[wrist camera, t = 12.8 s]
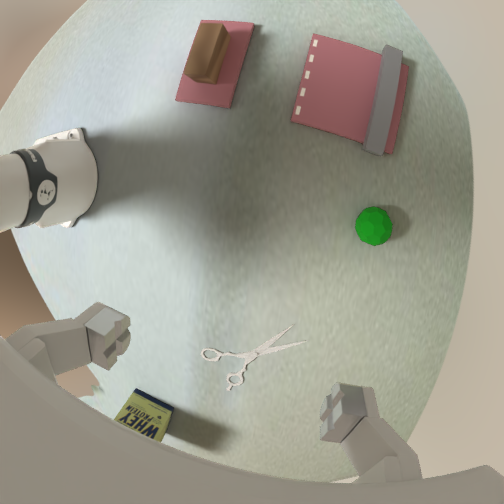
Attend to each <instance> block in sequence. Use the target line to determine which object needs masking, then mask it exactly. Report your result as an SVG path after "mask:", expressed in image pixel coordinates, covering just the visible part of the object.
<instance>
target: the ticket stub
mask: <svg viewBox="0 0 504 504" xmlns="http://www.w3.org/2000/svg"><path fill="white" fill-rule="evenodd" d="M253 29H254V23H248V22H236V21H218V20H201V22H200V25H199V27H198V30H197V33H196V36H195V38H194V41H193V44H192V47H191V50H190V53H189V56H188V59H187V62H186V65H185V68H184V71H183V74H182V78H181V81H180V84H179V88H178V91H177V95H176V99H175V100H176V101H178V102H187V103H196V104H204V105H211V106H218V107H224V108H230V107H231V103H232V99H233V96H234V92H235V88H236V85H237V81H238V78H239V75H240V71H241V68H242V64H243V61H244V58H245V55H246V51H247V48H248V45H249V42H250V39H251V36H252V33H253Z"/></svg>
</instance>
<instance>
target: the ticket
mask: <svg viewBox="0 0 504 504" xmlns="http://www.w3.org/2000/svg"><path fill="white" fill-rule="evenodd" d="M402 54H403V51H401V50H399V49H396V48H394V47H392V46H389V45H386V46H385V47H384V49H383V51H382V55H381V54H378V53H375V52H373V51H370V50H367V49H364V48H362V47H359V46H356V45H353V44H349V43H346V42H343V41H340V40H336V39H333V38H329V37H325V36H321V35H317V34H313V36H312V40H311V44H310V48H309V52H308V56H307V59H306V63H305V67H304V71H303V75H302V79H301V83H300V86H299V90H298V94H297V98H296V102H295V106H294V110H293V113H292V117H291V122H295V123H298V124H302V125H306V126H309V127H313V128H316V129H320V130H323V131H326V132H330V133H333V134H336V135H339V136H342V137H345V138H348V139H351V140H354V141H357V142H360V143H362V144H363V147H362V150H364V151H366V152H369V153H372V154H374V155H377V156H383V153H384V152H386V153H388V154H392V153H393V149H394V144H395V140H396V136H397V131H398V127H399V122H400V117H401V112H402V107H403V102H404V96H405V90H406V84H407V77H408V70H409V66H407V65H404V64H402V63H401V62H402Z"/></svg>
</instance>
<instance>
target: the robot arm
mask: <svg viewBox="0 0 504 504" xmlns="http://www.w3.org/2000/svg"><path fill="white" fill-rule="evenodd" d="M72 135H73V136H72ZM96 189H97V166H96V161H95V158H94V156H93V153H92V151H91V150H90V148H89V147H88V146H87V144H86V143H85V140H84V136H83V132H82V130H81V129H80V128H75V129H71V130H67V131H63V132H60V133H56V134H53V135H49V136H46V137H43V138H40V139H37V140H36V141H35V143H34V146H31V147H28V148H26V149H19V150H17V151H13V152H11V153H10V154H6V155H0V233H1V232H3V231H6V230H8V229H11V228H13V227H15V228H21V227H27V226H30V225H31V224H34V223H35V224H36V225H37V226H39V227H40V228H45V227H49V226H53V225H57V224H61V225H62V226H64V227H65V228H69V227H72V226H73V224H74V222H75V221H76V219H77V218H78V217H79V216H81V215H82V214H84V213H85V212H86V211H87V210H88V209H89V207H90V206H91V204H92V202H93V199H94V197H95V193H96ZM129 326H130V318H129V317H128V316H127V315H125V314H123V313H121V312H119V311H117V310H115V309H113V308H111V307H108V306H106V305H104V304H102V303H100V302H96V303H95V304H93V305H92V306H91V307H89V308H88V309H87V310H85V311H84V312H83V313H82V314H80V315H79V316H78V317H76V318H75V319H74V320H73V319H72V318H69V319H63V320H57V321H50V322H44V323H38V324H31V325H24V326H23V327H21V328H20V329H18V330H17V331H16V332H14V333H13V334H11V335H10V336H9V337H8V338H6V339H4V338H3V337H1V336H0V504H504V477H503V476H502V475H501V474H500V473H498V472H497V471H496V470H494V469H493V468H492V467H490V466H488V465H483V466H479V467H476V468H472V469H469V470H465V471H461V472H457V473H452V474H447V475H443V476H437V477H432V478H425V479H422V474H421V469H420V464H419V460H418V456H417V454H416V453H415V452H414V451H413V450H412V449H411V447H410V446H409V445H408V444H407V443H406V442H405V441H404V440H403V439H402V438H401V437H400V436H399V435H398V434H397V433H396V432H395V431H394V429H393V428H392V427H391V426H390V425H389V424H388V423H387V422H386V421H385V420H384V419H383V418H380V415H379V411H378V406H377V402H376V398H375V393H374V389H373V388H372V387H364V386H357V385H351V384H345V383H339V382H336V383H335V384H334V386H333V387H332V389H331V390H332V394H330V395H328V396H326V398H325V399H324V401H323V404H322V406H321V411H320V419H321V420H322V421H323V424H322V425H321V426H320V440H322V441H328V442H335V443H340V445H341V447H342V448H343V450H344V452H345V454H346V455H347V457H348V458H349V460H350V462H351V463H352V465H353V467H354V468H355V470H356V472H357V473H358V475H359V478H358V479H356V480H355V481H354V482H352V483H328V482H315V481H305V480H297V479H289V478H283V477H277V476H271V475H265V474H260V473H256V472H251V471H247V470H242V469H238V468H234V467H231V466H227V465H223V464H220V463H216V462H213V461H210V460H207V459H204V458H200V457H197V456H195V455H192V454H189V453H186V452H183V451H181V450H178V449H175V448H173V447H170V446H168V445H165V444H163V443H161V442H158V441H156V440H154V439H151V438H149V437H147V436H145V435H143V434H141V433H138V432H136V431H134V430H132V429H130V428H128V427H126V426H124V425H122V424H120V423H119V422H117V421H115V420H113V419H111V418H109V417H108V416H106V415H104V414H102V413H101V412H99V411H97V410H96V409H94V408H92V407H91V406H89V405H87V404H86V403H84V402H83V401H81V400H80V399H78V398H77V397H75V396H74V395H72V394H71V393H69V392H68V391H66V390H65V389H63V388H62V387H61V386H59V385H58V383H57V380H56V377H55V376H56V375H59V374H62V373H64V372H67V371H70V370H73V369H76V368H78V367H81V366H84V365H87V364H89V363H91V362H93V363H95V364H97V365H99V366H101V367H103V368H104V369H106V370H108V371H109V370H110V368H111V367H112V366H113V365H114V364H115V363H116V362H117V356H118V355H122V354H124V352H125V351H126V350H127V348H128V346H129V344H130V332H129V330H128V327H129Z"/></svg>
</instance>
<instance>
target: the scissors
mask: <svg viewBox="0 0 504 504" xmlns="http://www.w3.org/2000/svg"><path fill="white" fill-rule="evenodd" d="M293 325H294V324H293ZM293 325H292V326H293ZM292 326H290V327H289V328H287V329H285V330H284V331H282V332H281V333H279V334H278V335H276V336H274V337H273V338H271V339H270V340H268V341H266V342H265V343H263V344H262V345H260V346H259V347H257V348H256V349H254V350H253V351H248V352H243V353H237V354H235V353H231V352H226V353H222V352H220V351H218V350H216V349H213V348H205V349H203V350H202V351H201V356H202V357H203V358H204V359H206V360H208V361H218V360H219V358H220V356H225V355H231V356H236V357H240V358H246V360H245V363H244V366H243V369H242V370H241V371H239V372H237V373H231V372H230V373H229V374H228V375H227V382H228V383H229V384H230V385H229V387H228V388H227V389H226V390H227V391H230V388H231V387H232V385H233V386H237V385H240V384H242V382H243V376H242V372H244V371H246V365H247V364H248V363H250V362H251V361H253V360H254V359H255V358H256V357H257V356H259V355H263V354H267V353H271V352H275V351H279V350H282V349H285V348H288V347H291V346H294V345H298V344H301V343H303V342H306V341H302V342H297V343H291V344H286V345H281V346H276V347H269V346H270V345H272V344H273V343H274V342H275V341H276V340H277V339H279V338H280V337H281V336H282V335H283V334H284V333H285V332H286V331H287V330H288V329H290V328H291V327H292ZM307 341H308V340H307ZM268 347H269V348H268ZM206 350H211V351H214V352H215V353H216V354H217V357H215V358H207V357H206V356H205V355H204V353H203V352H204V351H206ZM234 375H235V376H238V377H239V378H240V379H241V380H240V382H238V383H232V382H231V381H230V380H229V377H231V376H234Z"/></svg>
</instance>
